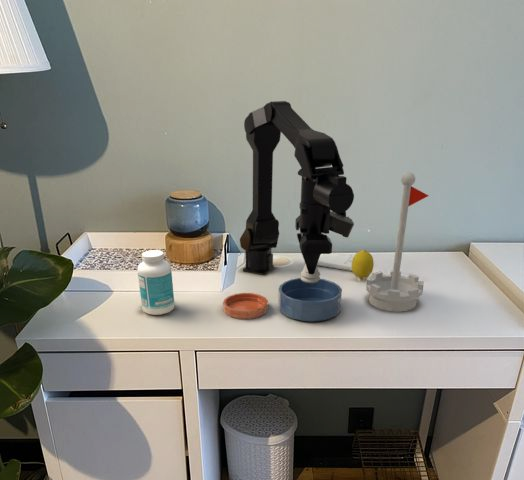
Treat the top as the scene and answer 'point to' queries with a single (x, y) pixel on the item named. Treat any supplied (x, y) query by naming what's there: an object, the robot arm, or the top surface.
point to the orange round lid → (245, 305)
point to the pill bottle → (155, 283)
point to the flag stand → (398, 264)
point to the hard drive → (336, 261)
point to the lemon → (362, 264)
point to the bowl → (309, 299)
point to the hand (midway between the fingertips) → (310, 270)
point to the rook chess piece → (310, 276)
